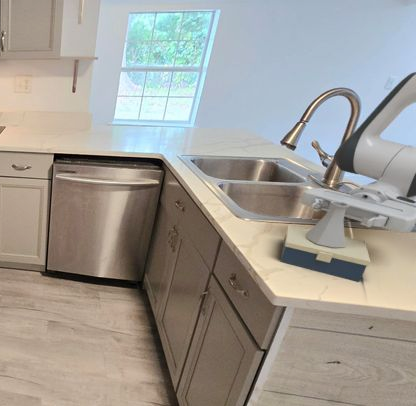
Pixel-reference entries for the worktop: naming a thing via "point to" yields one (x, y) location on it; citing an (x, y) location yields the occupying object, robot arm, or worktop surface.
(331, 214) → the flask
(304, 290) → the worktop surface
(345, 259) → the lunchbox
